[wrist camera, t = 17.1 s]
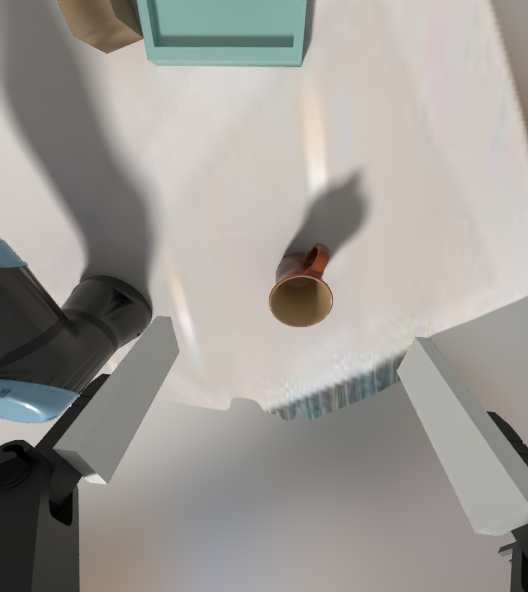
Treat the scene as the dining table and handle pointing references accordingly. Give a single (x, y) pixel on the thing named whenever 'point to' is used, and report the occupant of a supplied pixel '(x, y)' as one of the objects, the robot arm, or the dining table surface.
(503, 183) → the dining table surface
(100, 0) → the walnut block
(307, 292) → the mug
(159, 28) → the tray
